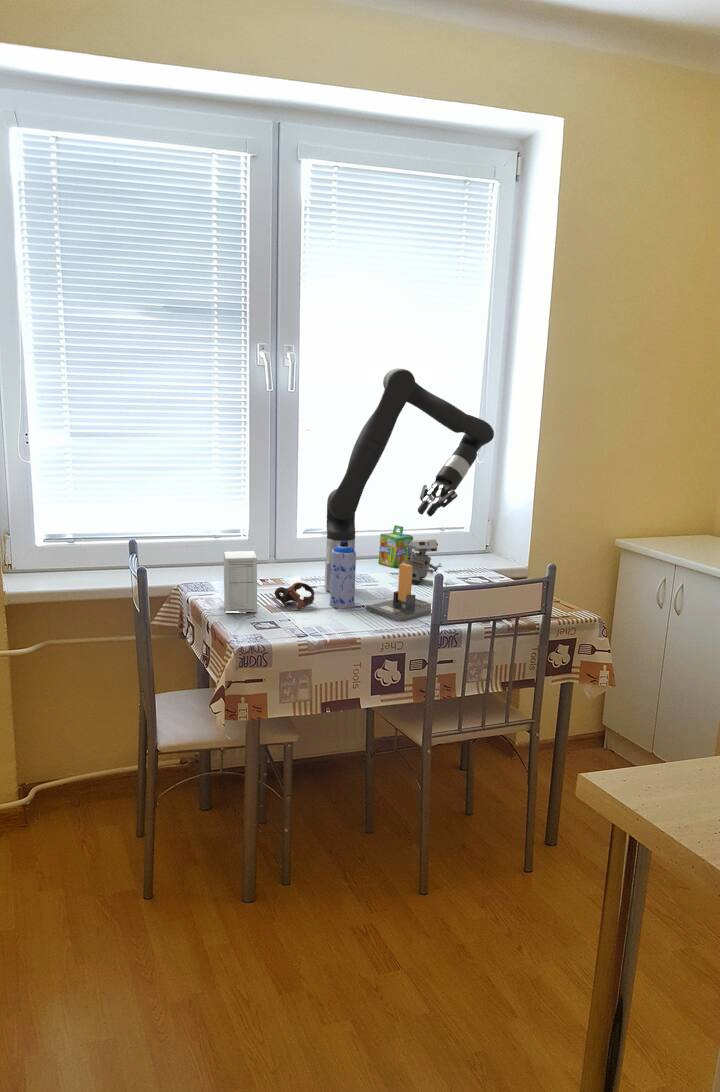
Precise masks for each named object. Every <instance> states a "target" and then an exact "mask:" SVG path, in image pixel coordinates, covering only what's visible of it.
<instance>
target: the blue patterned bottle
mask: <svg viewBox="0 0 720 1092" xmlns="http://www.w3.org/2000/svg"><path fill="white" fill-rule="evenodd" d="M356 552H357V551H356V549H355V550H354V549H353V547H351V546H350V545H348V541H341V543H340V545H338V546H336V547H335V548H334V549H333V550H332V556H331V589H330V591H329V593H330V594H329V596H330V597H329V606H331V607H332V608H337V609H351V608H354V607H355V606H356V603H355V594H356V591H355V590H356V566H357V565H356V564H357V553H356Z"/></svg>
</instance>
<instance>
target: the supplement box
mask: <svg viewBox="0 0 720 1092" xmlns="http://www.w3.org/2000/svg"><path fill="white" fill-rule="evenodd" d="M223 596H224V597H223V598H224V599H223V600H224V603H223V606H225V607H224V612H225V611H239V612H257V613H258V558H257V555H256V552H255V551H254V550H249V551H248V550H245V551H244V550H243V551H242V550H241V551H237V550H235V551H224V552H223Z"/></svg>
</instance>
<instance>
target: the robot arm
mask: <svg viewBox="0 0 720 1092" xmlns="http://www.w3.org/2000/svg"><path fill="white" fill-rule="evenodd" d="M382 385H383V388H384V390H383V393H382V395H381V398H380V400H379V403H378V404H377V407H376V409H375V410H374V411H373V412H372V414H371V415H370V417H369V418H368V419H367V421H366V423H365V424H364V425H363V426H362V429H361V430H360V433H359V434H358V437H357V438H356V441H355V443H354V445H353V448H352V450H351V453H350V456H349V460H348V465H347V468H346V472H345V474H344V476H343V478H342V480H341V482H340V483H339V486H338V487H337V488H335V489H333V490H332V491H331V492H330V493H329V495H328V497H327V502H326V555H325V557H326V558H325V562H324V563H325V564H324V589H325V591H326V592H330V589H331V556H332V550H333V549H334V548H335V547H336V546H338V545H340V543H341V541H348V545H350V546H351V547H353V549H354V550H355V551H356V549H355V547H356V511H357V509H358V507H359V504H360V500H361V498H362V495H363V492H364V489H365V486H366V485H367V483H368V481H369V479H370V478H371V476H372V474H373V472H374V471H375V468H376V467H377V465H378V463H379V461H380V459H381V458H382V455H383V453H384V451H385V449H386V447H387V445H388V442H389V440H390V438H391V436H392V433H393V431H394V428H395V426H396V423H397V421H398V418H399V417H400V414H401V412H402V411H403V409H404V407H405V405H406V403H408V404H410V405H412V406H414V407H415V408H417V409H419V410H421V412H423V413H425V414H427V415H428V416H429V417H430V418H432V419H434V420H435V421H436V422H437V423H439V424H440V425H442V426H443V427H446V428H447V429H448V430H450V432H451V431H452V432H454V433H456V434H459V433H464V434H463V436H462V438H461V440H460V442H459V445H458V447H456V449H455V450H454V451H453V453H452V454H451V456H450V457H449V458H448V459H447V460H446V461H445V463H444V464H443V465H442V467H441V469H439V471H438V473H436V475H435V479H434V480H435V481H434V482H433V483H431V485H427V484H423V486H422V489H421V492H420V495H419V499H420V501H421V503H420V505H419V506H418V508H417V512H418V514H419V515H421V516H422V515H423V514H424V513H425V512H426V514H427V515H428V517H432V516H434V514H435V513H436V512H437V511H438V509H440V508H446V507H447V506H448V505H449V504H450V503H452V502H453V501H454V500H456V498H457V497H458V493H457V492H456V490H457V488H458V487H459V485H460V484H461V482H462V481H463V480H464V478H465V477H466V476H467V474H468V472H469V469H470V468H472V465H473V464H474V462H475V461H476V460H477V457H478V451H479V450H480V449H481V448H482V447H483V446H485V445H488V444H489V443H490V442H491V441H492V440H493V438H494V437H495V432H494V429H493V427H492V425H490V423H488V422H487V421H485V420H483V419H481V418H479V417H476V416H473V415H471V414H468V413H466V412H464V411H463V410H461V409H460V408H458V407H457V406H455V405H453V404H452V403H450V401H449V402H448V401H446V400H445V399H444V398H440V397H439V396H437V395H435V394H433V393H432V392H431V391H428V390H427V389H425V388H424V387H422V386H421V385H419V383H418V382H416V378H415V376H414V374H413V373H412V372H411V371H410V370H408V369H405V368H393V369H391V370H388V372H386V374H385V375H384V377H383V382H382ZM428 507H429V508H428ZM427 508H428V509H427Z"/></svg>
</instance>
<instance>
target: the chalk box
mask: <svg viewBox="0 0 720 1092" xmlns="http://www.w3.org/2000/svg"><path fill="white" fill-rule="evenodd" d="M398 529H399V532H398V531H397V530H398ZM410 540H414V536H413V535H411V534H407V533H404V526H401V525H396V524H395V525H394V526H393V530H392V532H387V533H386V532H385V533H380V539H379V550H378V551H379V552H378V564H380V565H384V566H386V567H390V568H393V569H397V568H398V569H399V565H400V564H403V563H405V564H406V563H407V558H408V555H410V554H411V553H412V552H413V548H409V547H408V542H409V541H410Z"/></svg>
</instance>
